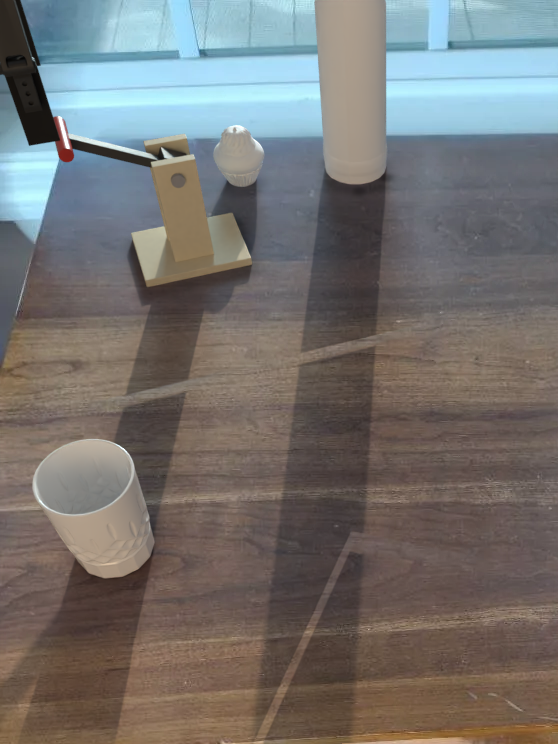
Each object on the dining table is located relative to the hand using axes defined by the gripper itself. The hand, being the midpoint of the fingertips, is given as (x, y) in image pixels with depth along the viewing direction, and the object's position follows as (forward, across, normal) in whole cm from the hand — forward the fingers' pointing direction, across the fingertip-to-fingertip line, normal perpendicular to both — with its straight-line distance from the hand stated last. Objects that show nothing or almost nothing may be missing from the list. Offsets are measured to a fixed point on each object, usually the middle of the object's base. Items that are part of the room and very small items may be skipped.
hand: (34, 102), depth 80 cm
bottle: (+20, +10, -35) cm, 41 cm away
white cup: (+20, -37, +4) cm, 43 cm away
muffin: (+20, +12, -20) cm, 31 cm away
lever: (+8, +1, -6) cm, 10 cm away
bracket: (+20, 0, -11) cm, 23 cm away
